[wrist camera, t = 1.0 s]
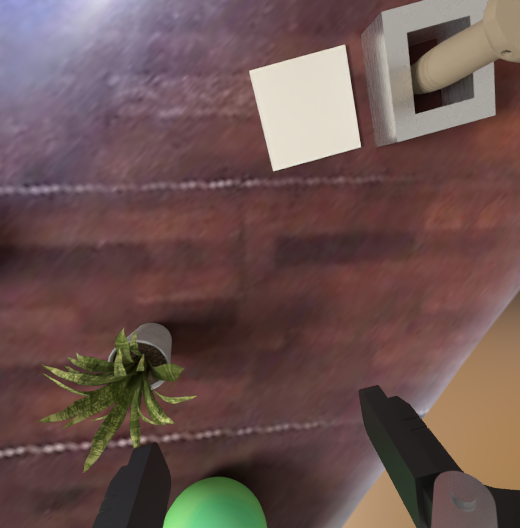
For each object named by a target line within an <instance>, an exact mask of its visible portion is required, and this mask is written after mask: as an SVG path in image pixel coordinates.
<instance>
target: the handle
mask: <svg viewBox="0 0 520 528" xmlns="http://www.w3.org/2000/svg"><path fill="white" fill-rule="evenodd" d="M500 58H501V59H503V60H506V61H510V62H516V63H520V0H489V1H488V3H487V5H486V8H485V11H484V15H483V19H482V20H480V21H479V22H477V23H475V24H473V25H472V26H470V27H468V28H467V29H465V30H463V31H461V32H459V33H457V34H456V35H454V36H452V37H450V38H448V39H447V40H445V41H443V42H441V43H440V44H438V45H437V46H435V47H434V48H432V49H431V50H429V51H428V52H427V53H426V54H424V55H423V56H422V57H421V58H420V59H419V60H418V61H417V62H416V63H415V64H413V65H411V66H410V70H411V79H412V89H413V95H415V94H418V95H421V94H425V93H429V92H433V91H436V90H439V89H442V88H444V87H446V86H449V85H451V84H453V83H455V82H457V81H459V80H460V79H462V78H464V77H466V76H468V75H470V74H471V73H473V72H475V71H477V70H479V69H481V68H482V67H484V66H486V65H488V64H490V63H492V62H494V61H496V60H498V59H500Z"/></svg>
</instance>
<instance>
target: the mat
mask: <svg viewBox="0 0 520 528" xmlns="http://www.w3.org/2000/svg"><path fill="white" fill-rule="evenodd" d="M249 72H250V76H251V81H252V85H253V89H254V93H255V97H256V101H257V105H258V110H259V114H260V118H261V122H262V126H263V130H264V135H265V139H266V143H267V147H268V151H269V155H270V159H271V164H272V168H273V171H277V170H280V169H284V168H288V167H291V166H295V165H298V164H302V163H306V162H309V161H313V160H316V159H320V158H324V157H327V156H331V155H334V154H338V153H342V152H345V151H349V150H352V149H356V148H360V147H361V144H360V137H359V131H358V125H357V118H356V112H355V105H354V99H353V92H352V86H351V80H350V73H349V67H348V60H347V54H346V48H345V45H342V46H338V47H334V48H331V49H327V50H323V51H320V52H316V53H312V54H309V55H305V56H301V57H298V58H294V59H290V60H287V61H283V62H280V63H276V64H272V65H269V66H265V67H261V68H258V69H254V70H250V71H249Z"/></svg>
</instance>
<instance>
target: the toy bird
mask: <svg viewBox="0 0 520 528" xmlns="http://www.w3.org/2000/svg"><path fill="white" fill-rule="evenodd" d="M163 528H267V524H266V519H265V516H264V513H263V510H262V507H261V505H260V503H259V501H258V500H257V498H256V497H255V495H254V494H253V493H252V492H251V491H250V490H249V489H248V488H247V487H246V486H245V485H243V484H242V483H240V482H238V481H236V480H233V479H230V478H226V477H210V478H206V479H203V480H200V481H198V482H196V483H194V484H192V485H191V486H189V487H188V488H186V489H185V490H184V491H183V492H182V493H181V494H180V495H179V496H178V497H177V499H176V500H175V501H174V503H173V504H172V506H171V507H170V509H169V511H168V513H167V515H166V517H165V520H164V525H163Z"/></svg>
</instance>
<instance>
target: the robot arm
mask: <svg viewBox="0 0 520 528" xmlns="http://www.w3.org/2000/svg"><path fill="white" fill-rule="evenodd" d="M359 398H360V404H361V410H362V416H363V422H364V425H365V428H366V431H367V434H368V436H369V438H370V440H371V442H372V444H373V446H374V448H375V450H376V452H377V453H378V455H379V457H380V459H381V461H382V463H383V465H384V467H385V469H386V470H387V472H388V474H389V476H390V478H391V480H392V481H393V484H394V486H395V488H396V489H397V491H398V493H399V495H400V497H401V499H402V501H403V503H404V505H405V507H406V508H407V510H408V512H409V514H410V516H411V518H412V519H413V522H414V524H415V525H416V527H417V528H520V490H510V489H498V488H493V487H489V486H486V485H484V484H482V483H481V482H480V481H479V480H477V479H476V478H474V477H472V476H470V475H469V474H466V473H464V472H463V471H462V470H461V469H460V468H459V466H458V465H457V464H456V463H455V461H454V460H453V459H452V457H451V456H450V455H449V454H448V452H447V451H446V450H445V449H444V447H443V446H442V445H441V443H440V442H439V441H438V440H437V438H436V437H435V436H434V435H433V433H432V432H431V431H430V430H429V428H427V426H426V425H425V423H424V422H423V421H422V419H420V418H419V415H418V414H417V413H416V412H415V410H414V409H413V408H412V407H411V405H410V404H408V403H407V402H405V401H404V400H402V399H401V398H399V397H398V396H394V397H390V398H387V396H386V395H385V393H384V392H383V391H382V389H381V388H380V387H379V386H378V385H376V386H372V387H368V388H364V389H360V390H359ZM170 490H171V476H170V471H169V468H168V466H167V464H166V461H165V459H164V457H163V454H162V452H161V450H160V447H159V445H158V444H157V443H156V442H153V443H150V444H146V445H142V446H138V447H135V448H134V450H133V452H132V455H131V457H130V460H129V463H128V465H126V466H122V467H121V468H120V470H119V471H118V472H117V474H116V475H115V477H114V478H113V479H112V481H111V482H110V485H109V487H108V490H107V492H106V495H105V497H104V498H105V499H104V501H103V502H102V505H101V507H100V510H99V514H98V515H97V517H96V520H95V522H94V525H93V527H92V528H163V525H164V520H165V515H166V510H167V505H168V500H169V495H170Z"/></svg>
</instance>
